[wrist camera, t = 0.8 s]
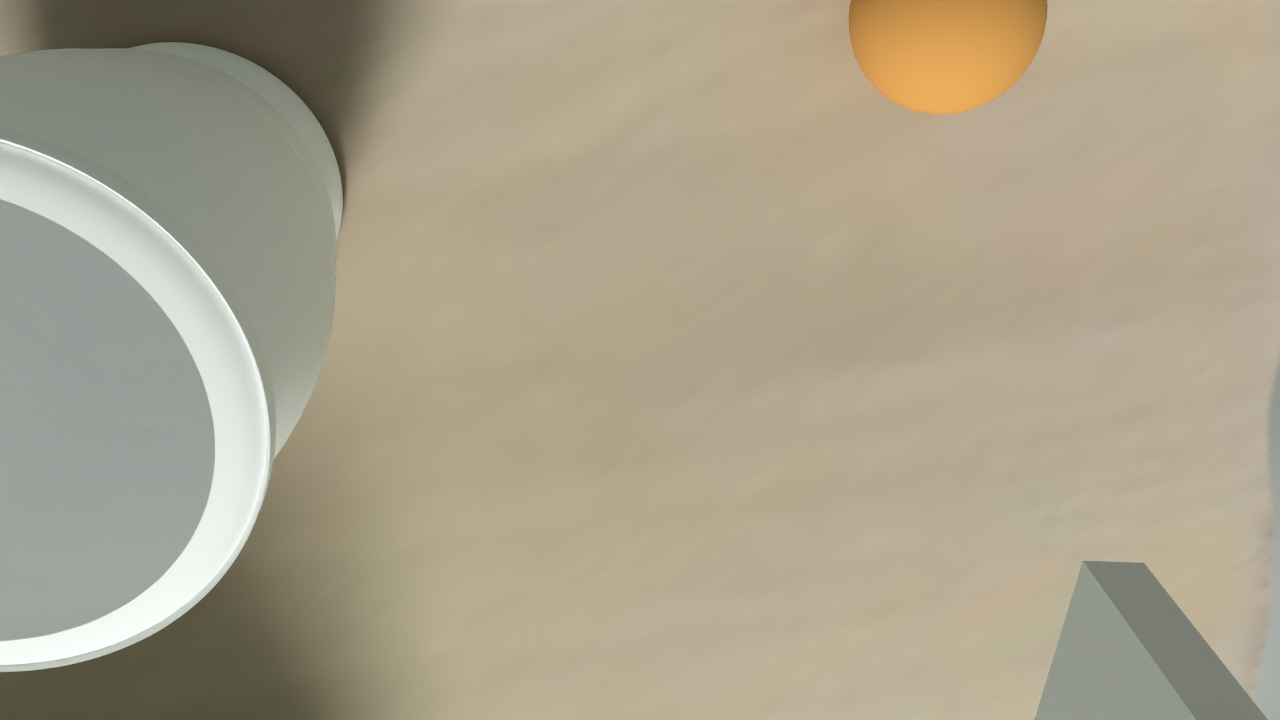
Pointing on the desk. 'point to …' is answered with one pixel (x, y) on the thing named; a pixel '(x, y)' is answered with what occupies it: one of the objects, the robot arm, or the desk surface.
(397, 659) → the desk surface
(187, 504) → the jar
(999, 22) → the ball
